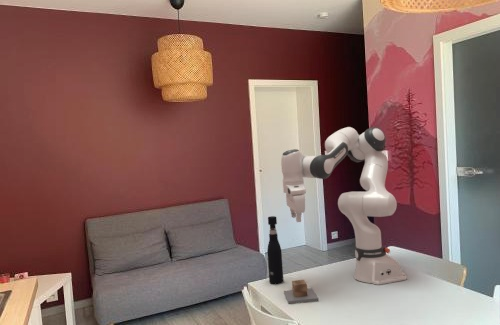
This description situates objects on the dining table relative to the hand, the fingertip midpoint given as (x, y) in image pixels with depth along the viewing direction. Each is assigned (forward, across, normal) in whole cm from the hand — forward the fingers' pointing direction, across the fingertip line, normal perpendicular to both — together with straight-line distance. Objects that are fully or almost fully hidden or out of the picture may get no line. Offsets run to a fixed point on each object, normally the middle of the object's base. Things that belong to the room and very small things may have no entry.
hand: (296, 219), depth 163 cm
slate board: (+30, +11, -3) cm, 32 cm away
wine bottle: (+30, -10, -10) cm, 33 cm away
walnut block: (+28, +11, -3) cm, 30 cm away
